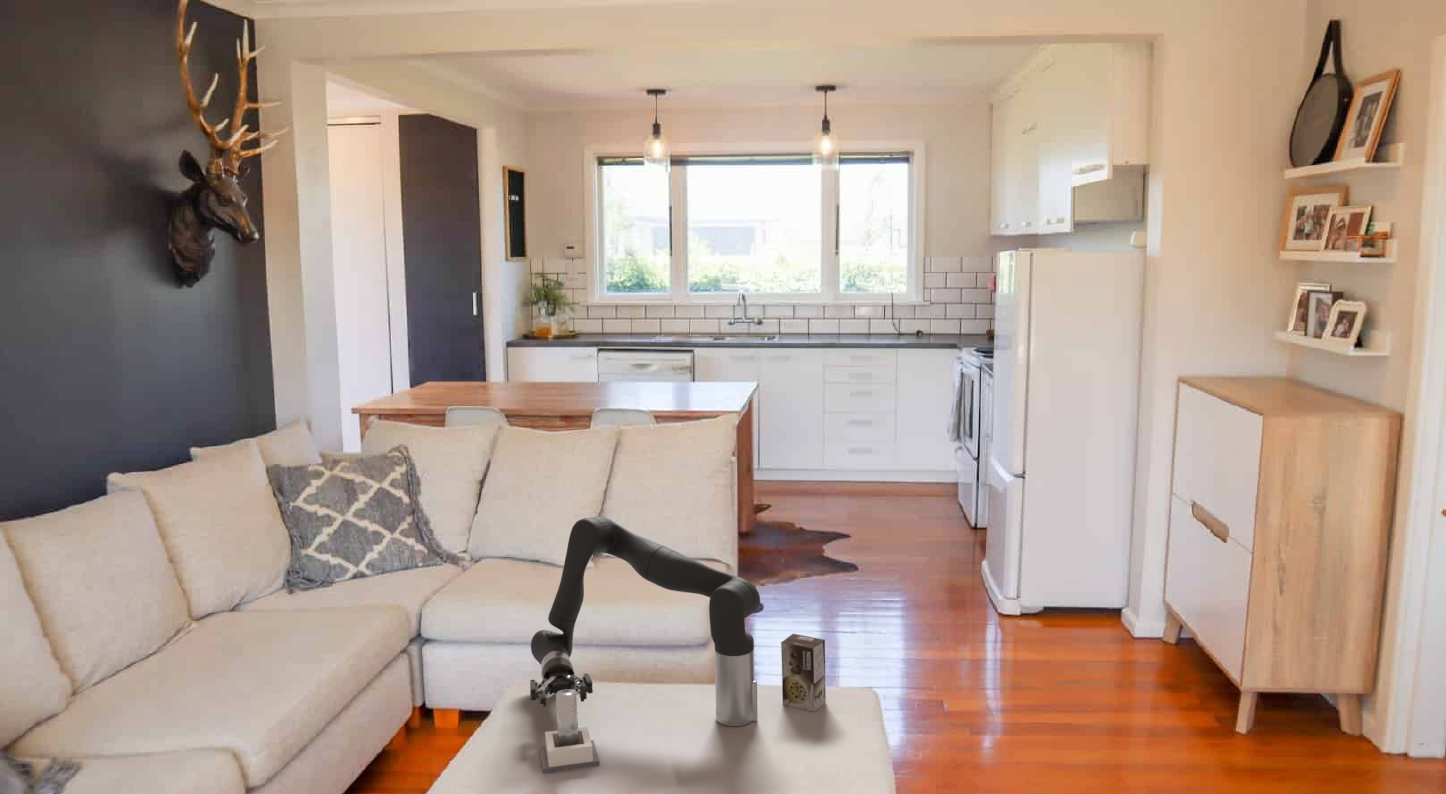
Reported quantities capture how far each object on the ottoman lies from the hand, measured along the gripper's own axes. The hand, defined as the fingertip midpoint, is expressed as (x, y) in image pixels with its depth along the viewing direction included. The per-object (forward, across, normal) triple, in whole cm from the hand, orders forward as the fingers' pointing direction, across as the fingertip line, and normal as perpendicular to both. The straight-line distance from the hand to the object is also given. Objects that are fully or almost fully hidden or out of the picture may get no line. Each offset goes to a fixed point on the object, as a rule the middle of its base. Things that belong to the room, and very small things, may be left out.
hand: (563, 699), depth 231 cm
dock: (+8, 0, +10) cm, 13 cm away
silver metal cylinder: (+8, 0, +9) cm, 12 cm away
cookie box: (-3, +58, +10) cm, 59 cm away
